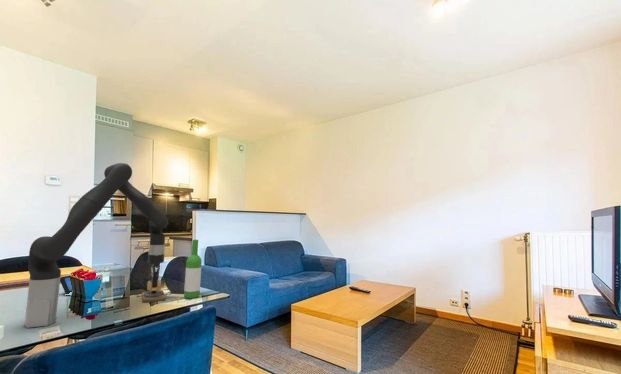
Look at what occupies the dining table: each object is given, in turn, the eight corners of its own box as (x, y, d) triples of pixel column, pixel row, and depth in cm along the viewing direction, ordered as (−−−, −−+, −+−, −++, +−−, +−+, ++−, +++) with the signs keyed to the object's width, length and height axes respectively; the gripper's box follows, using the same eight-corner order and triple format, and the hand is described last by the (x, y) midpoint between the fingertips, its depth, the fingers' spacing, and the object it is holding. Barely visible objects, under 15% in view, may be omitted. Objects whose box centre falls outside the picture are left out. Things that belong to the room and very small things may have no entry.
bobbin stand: (165, 300, 154) (166, 284, 155) (142, 302, 150) (143, 286, 150) (162, 293, 168) (163, 278, 169) (142, 295, 164) (143, 279, 164)
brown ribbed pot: (161, 290, 158) (161, 282, 159) (147, 291, 155) (148, 283, 156) (160, 287, 164) (160, 279, 164) (147, 288, 161) (147, 280, 161)
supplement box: (93, 297, 156) (95, 272, 157) (100, 300, 152) (103, 274, 154) (76, 301, 150) (79, 274, 151) (83, 303, 146) (86, 276, 147)
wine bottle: (180, 298, 160) (184, 239, 163) (189, 294, 168) (193, 238, 171) (193, 299, 158) (197, 240, 161) (202, 295, 166) (205, 239, 169)
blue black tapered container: (80, 297, 157) (82, 279, 158) (56, 296, 158) (58, 277, 159) (104, 290, 172) (105, 273, 173) (82, 289, 173) (83, 272, 174)
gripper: (148, 252, 166) (145, 283, 164) (148, 255, 153) (146, 289, 152) (163, 251, 169) (161, 282, 168) (165, 254, 157) (163, 288, 155)
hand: (154, 286), depth 160 cm, fingers closed on brown ribbed pot, 6 cm apart
